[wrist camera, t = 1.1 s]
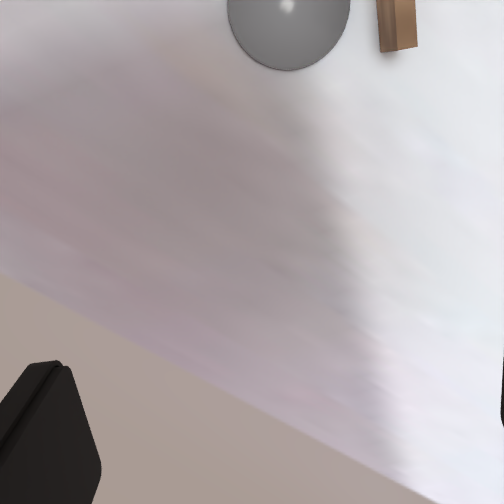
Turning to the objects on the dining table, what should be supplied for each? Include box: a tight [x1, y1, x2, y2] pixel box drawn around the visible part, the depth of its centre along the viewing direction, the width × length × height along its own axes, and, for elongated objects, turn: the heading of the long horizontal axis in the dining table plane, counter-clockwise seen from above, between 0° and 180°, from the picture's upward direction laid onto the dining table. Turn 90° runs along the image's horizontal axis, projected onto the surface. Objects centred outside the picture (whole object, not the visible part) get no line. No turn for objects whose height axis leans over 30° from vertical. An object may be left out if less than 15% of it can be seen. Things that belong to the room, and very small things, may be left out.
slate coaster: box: [228, 0, 350, 70], centre depth 32 cm, size 8×8×1 cm
